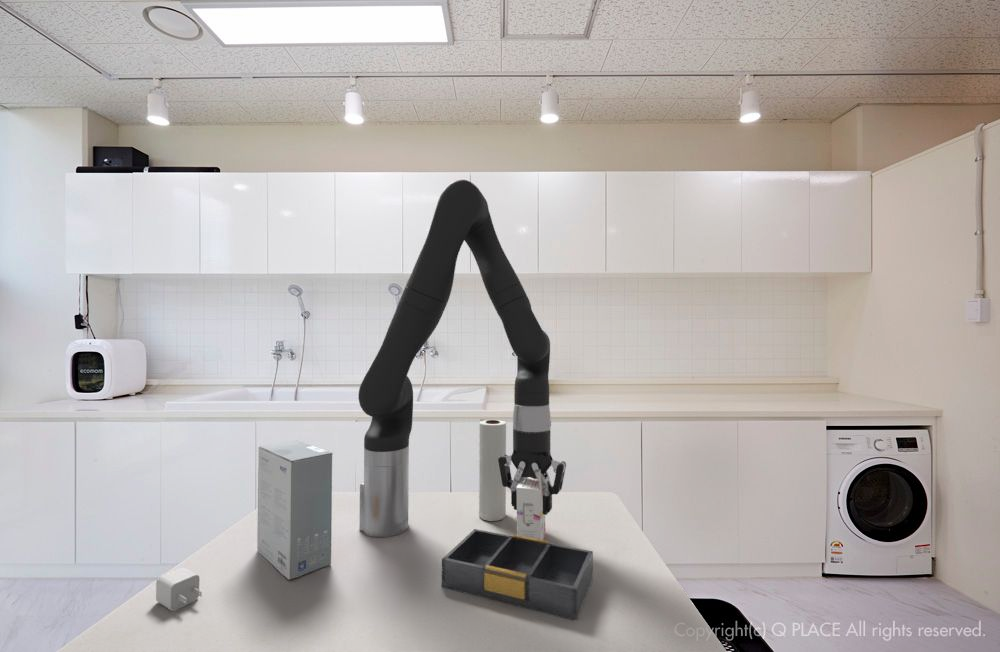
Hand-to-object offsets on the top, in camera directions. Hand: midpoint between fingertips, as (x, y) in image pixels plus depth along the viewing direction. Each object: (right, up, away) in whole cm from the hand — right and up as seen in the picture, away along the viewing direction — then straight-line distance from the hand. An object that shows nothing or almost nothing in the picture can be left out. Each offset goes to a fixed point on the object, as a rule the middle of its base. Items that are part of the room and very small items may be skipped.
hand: (531, 510), depth 90 cm
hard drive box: (-44, -6, -8) cm, 45 cm away
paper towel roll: (-8, -6, +12) cm, 16 cm away
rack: (-3, -6, -16) cm, 17 cm away
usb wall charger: (-55, -6, -22) cm, 59 cm away
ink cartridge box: (0, -6, 0) cm, 6 cm away
